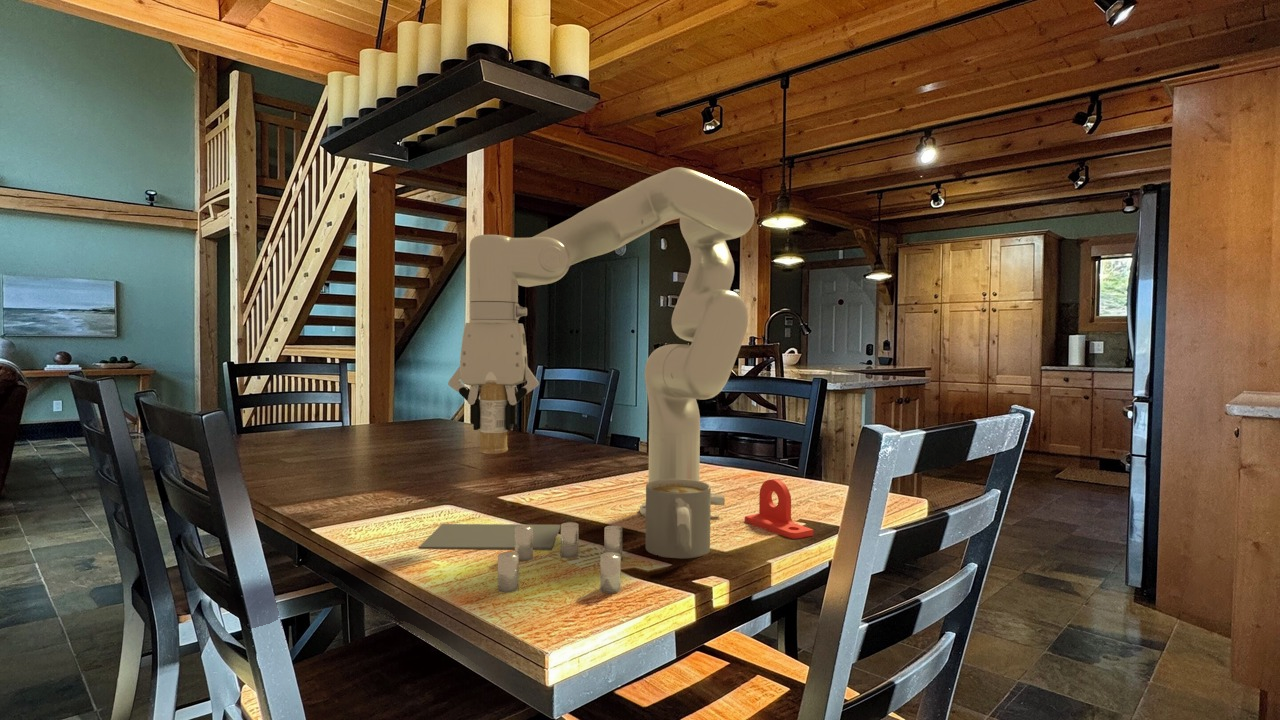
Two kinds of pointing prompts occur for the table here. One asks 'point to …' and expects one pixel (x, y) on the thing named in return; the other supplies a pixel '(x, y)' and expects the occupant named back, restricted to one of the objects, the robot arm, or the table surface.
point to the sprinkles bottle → (493, 417)
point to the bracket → (777, 512)
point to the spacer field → (569, 549)
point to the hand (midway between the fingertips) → (493, 427)
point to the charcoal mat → (488, 536)
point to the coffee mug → (678, 518)
